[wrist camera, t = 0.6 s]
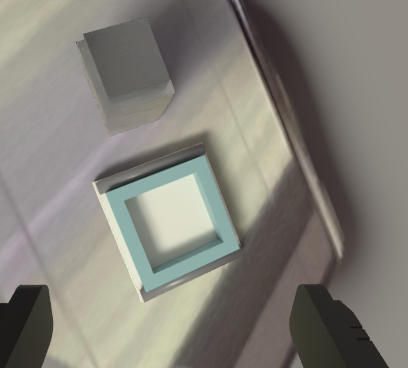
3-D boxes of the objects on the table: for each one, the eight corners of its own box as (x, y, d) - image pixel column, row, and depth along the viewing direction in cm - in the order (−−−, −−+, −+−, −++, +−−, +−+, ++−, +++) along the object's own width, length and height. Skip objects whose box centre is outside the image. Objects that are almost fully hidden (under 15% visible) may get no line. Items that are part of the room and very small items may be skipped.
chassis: (92, 182, 32) (90, 182, 29) (199, 142, 34) (207, 138, 31) (140, 298, 33) (142, 309, 30) (241, 251, 35) (251, 257, 32)
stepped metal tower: (89, 86, 32) (71, 28, 20) (139, 70, 33) (151, 7, 21) (109, 136, 32) (103, 108, 20) (159, 119, 33) (180, 83, 21)
